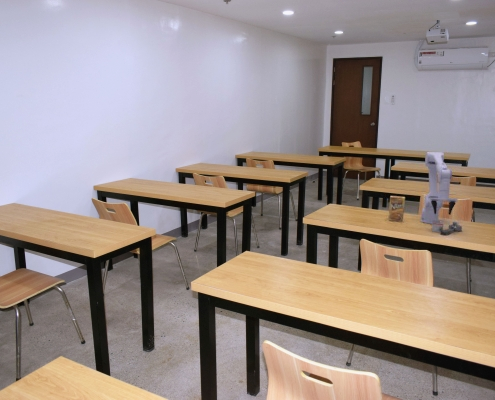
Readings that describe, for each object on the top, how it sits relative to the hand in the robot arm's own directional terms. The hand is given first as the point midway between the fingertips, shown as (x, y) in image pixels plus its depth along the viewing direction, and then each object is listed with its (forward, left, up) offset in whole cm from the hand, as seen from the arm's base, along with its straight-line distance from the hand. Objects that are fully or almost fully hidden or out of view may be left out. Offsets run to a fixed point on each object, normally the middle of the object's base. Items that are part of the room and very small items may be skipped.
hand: (442, 214), depth 249 cm
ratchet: (+4, +3, -10) cm, 12 cm away
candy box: (-30, +2, -10) cm, 32 cm away
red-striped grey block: (-2, -1, -10) cm, 10 cm away
